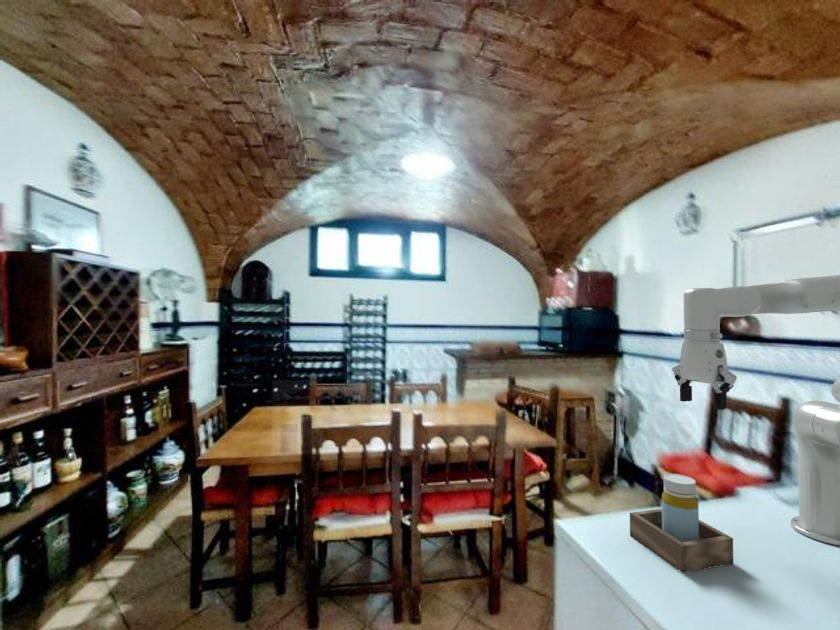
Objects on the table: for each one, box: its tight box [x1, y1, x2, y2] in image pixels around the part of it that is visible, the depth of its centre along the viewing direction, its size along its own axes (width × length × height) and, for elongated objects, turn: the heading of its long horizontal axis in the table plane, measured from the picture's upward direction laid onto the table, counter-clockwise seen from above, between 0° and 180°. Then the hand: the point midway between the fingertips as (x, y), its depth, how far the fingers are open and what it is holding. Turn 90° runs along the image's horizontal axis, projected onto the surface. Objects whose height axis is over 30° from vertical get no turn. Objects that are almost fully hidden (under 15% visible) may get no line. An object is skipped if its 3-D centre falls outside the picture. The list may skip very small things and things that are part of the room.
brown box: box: [629, 508, 734, 573], centre depth 94 cm, size 13×15×6 cm
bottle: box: [661, 473, 700, 542], centre depth 94 cm, size 7×7×15 cm
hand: (702, 404), depth 105 cm, fingers open, 9 cm apart
